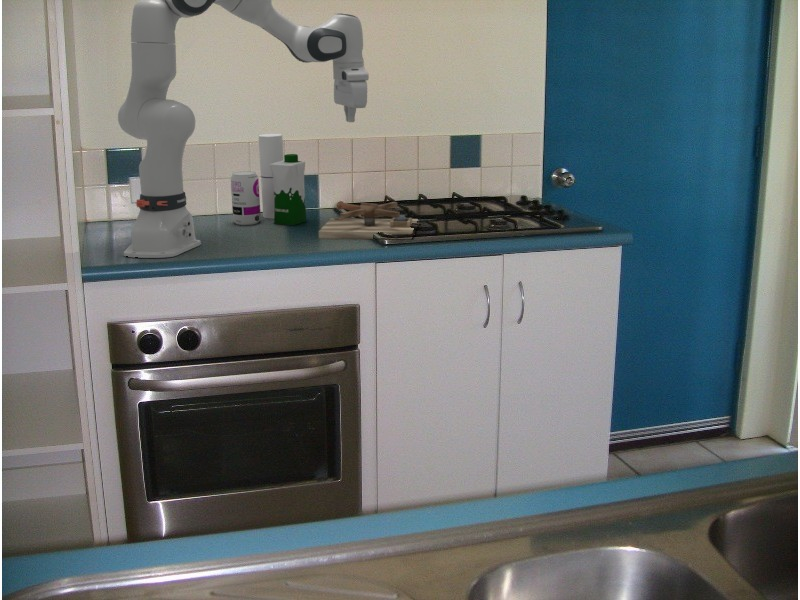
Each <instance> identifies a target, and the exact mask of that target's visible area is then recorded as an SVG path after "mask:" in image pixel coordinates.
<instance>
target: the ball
mask: <svg viewBox="0 0 800 600" xmlns="http://www.w3.org/2000/svg"><path fill="white" fill-rule="evenodd" d="M406 218H407V217H406V216H405V215H403V214H400V217H398V218H396V221H406Z"/></svg>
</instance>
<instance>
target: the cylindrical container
mask: <svg viewBox="0 0 800 600" xmlns="http://www.w3.org/2000/svg"><path fill="white" fill-rule="evenodd" d="M283 142H284V141H283V134H281V133H263V134H259V135H258V148H259V149H258V150H259V165H260V183H261V187H260V188H261V200H262V201H261V203H262V216H263V218H264V219H270V220H271V219H273V220H274V208H275V206H274V187H273V176H272V172H271V168H270V164H273V163H275V162H280V161H284V146H283V145H284V144H283Z"/></svg>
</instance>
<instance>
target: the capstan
mask: <svg viewBox="0 0 800 600" xmlns="http://www.w3.org/2000/svg"><path fill="white" fill-rule="evenodd" d="M336 208H337V209H338V210H348V211H344V212H341V213H340V212H339V218H340V219H346V218H356V217H359V216H361V218H364V217H375V218H376V217H378V216H383V217H389V218H398V217H400V215H401V213H400V211H394V210H390V209H394V208H395V209H396V208H398V202H397V201H391V202H387V203H382V204H378V203H373V202H372V203H369V202H368V203H367V202H360V205H358V204H353V203H346V202H344V201H341V200H340V201H337V203H336Z"/></svg>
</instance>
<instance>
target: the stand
mask: <svg viewBox="0 0 800 600" xmlns="http://www.w3.org/2000/svg"><path fill="white" fill-rule="evenodd" d="M417 221H418V222H419V219H418V218H413V217H406V221H396V218H394V217H391V218H376V217H363V218H353V217H351V218H346V219H340V217H339V218H337V217H334V218H333V217H331V218H329V219H328V221H327V222H326V223H325V224H323V226H322V227H321V228H320V229H319V230H318V239H333V240H334V239H335V240H337V239H338V240H339V239H341V240H343V239H345V240H348V239H349V240H374V239H373V234H374V233H378V232H379V233H380V232H384V233H391V234H412V233H413V230H414V228H411V227H410V226H411V224H412V223H417Z"/></svg>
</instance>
